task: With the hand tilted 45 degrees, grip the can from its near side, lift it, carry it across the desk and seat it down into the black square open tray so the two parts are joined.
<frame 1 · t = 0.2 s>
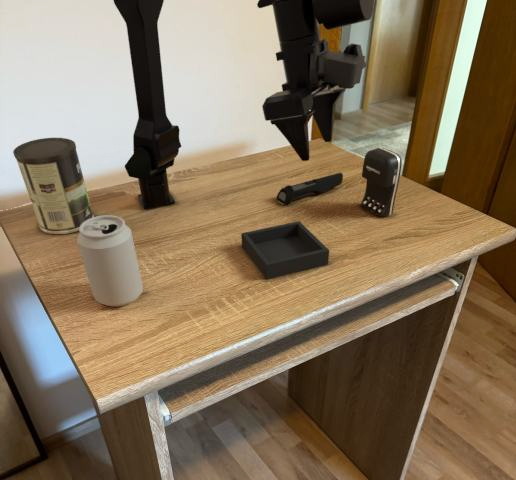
hand: (317, 150, 77), 15 cm above the table, tool pointing down, fingers open, 9 cm apart
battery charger: (373, 212, 95), on the table
electric trimmer: (309, 195, 101), on the table
coffee can: (67, 222, 93), on the table
can: (119, 296, 75), on the table
black square open tray: (283, 255, 83), on the table
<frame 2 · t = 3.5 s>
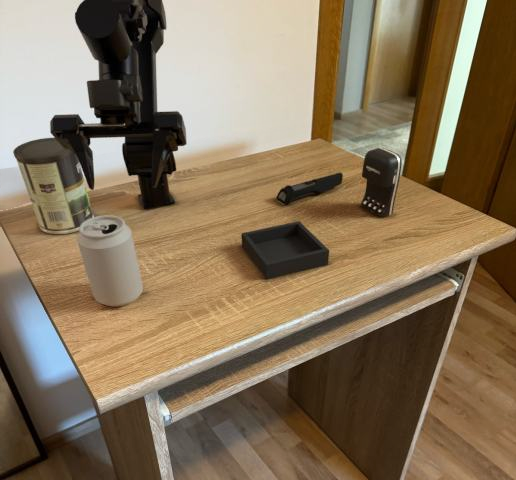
hand: (122, 187, 71), 14 cm above the table, tool tilted 45°, fingers open, 9 cm apart
nothing on the table moved.
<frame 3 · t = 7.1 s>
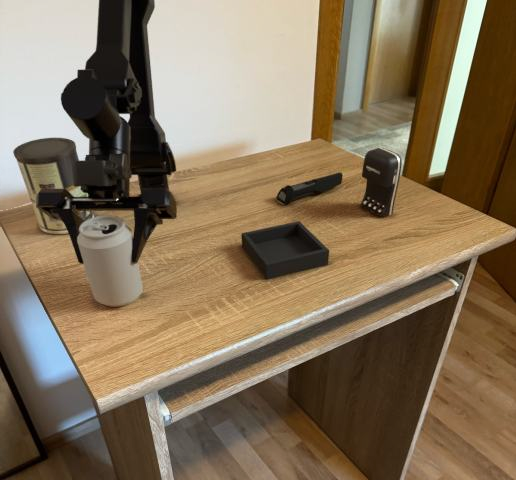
hand: (107, 263, 69), 7 cm above the table, tool tilted 45°, fingers closed on can, 7 cm apart
can: (119, 296, 75), on the table, touching gripper
everything else where it was.
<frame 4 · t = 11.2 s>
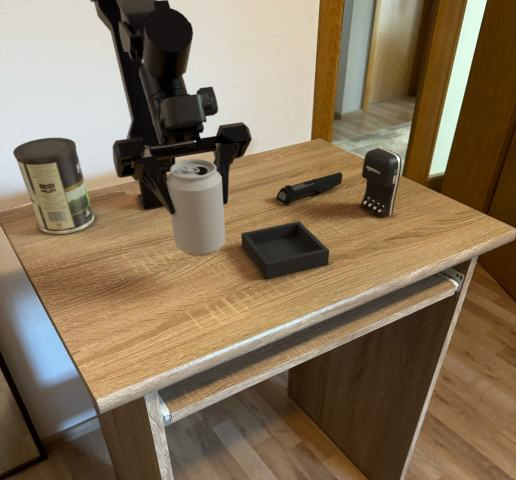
hand: (199, 208, 67), 13 cm above the table, tool tilted 45°, fingers closed on can, 7 cm apart
can: (201, 247, 73), point 6 cm above the table, touching gripper
everything else where it was.
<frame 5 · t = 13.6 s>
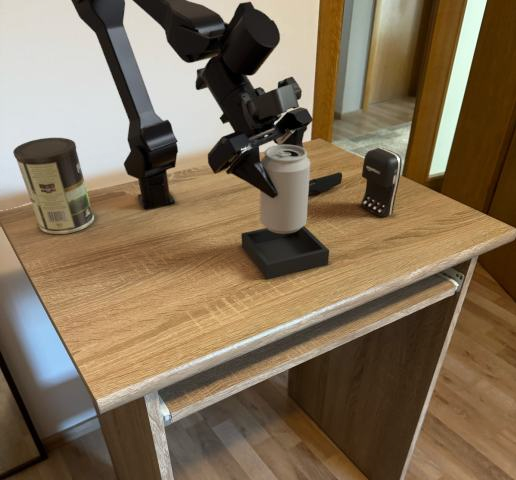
hand: (291, 188, 74), 12 cm above the table, tool tilted 45°, fingers closed on can, 7 cm apart
can: (283, 226, 79), point 5 cm above the table, touching gripper
everything else where it was.
when the fingers open (7 cm above the table, at t = 15.6 s): can stays where it is, resting on black square open tray.
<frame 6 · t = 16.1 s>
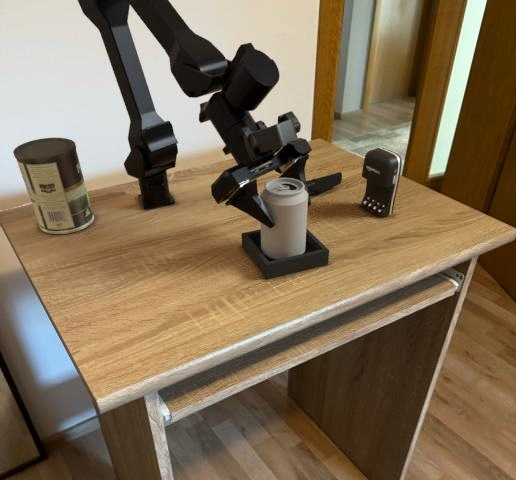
hand: (291, 216, 77), 8 cm above the table, tool tilted 45°, fingers open, 9 cm apart
can: (283, 253, 83), resting on black square open tray
everything else where it was.
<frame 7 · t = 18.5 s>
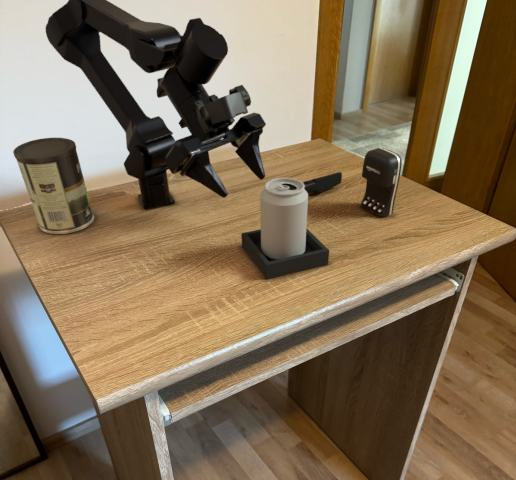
hand: (245, 187, 81), 10 cm above the table, tool tilted 45°, fingers open, 9 cm apart
nothing on the table moved.
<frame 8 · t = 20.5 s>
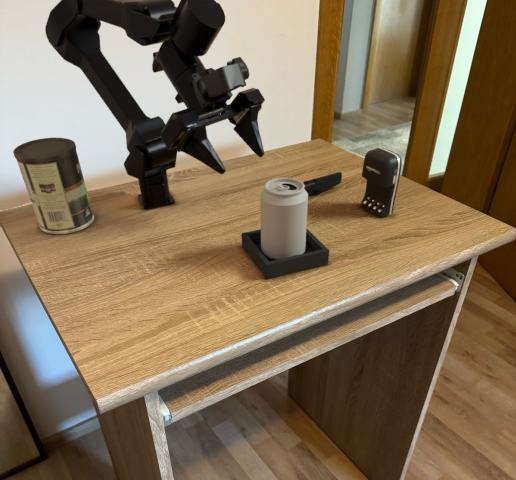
hand: (243, 164, 78), 14 cm above the table, tool tilted 45°, fingers open, 9 cm apart
nothing on the table moved.
at the end: can 0.1 cm off-centre in the black square open tray, point 0.3 cm above the black square open tray's base; can tilted 0°; the gripper is holding nothing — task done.
